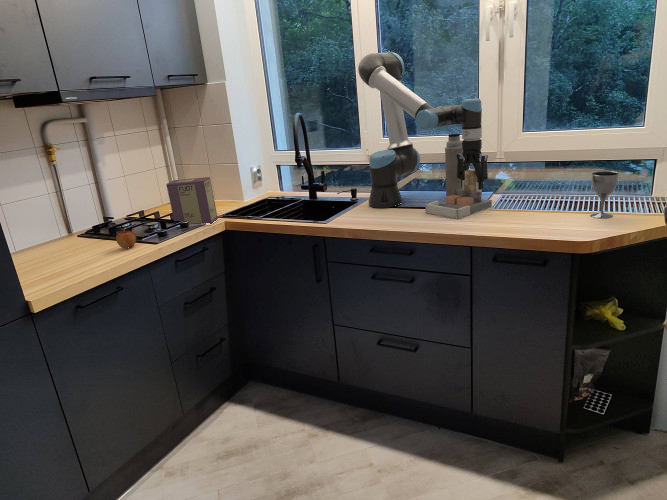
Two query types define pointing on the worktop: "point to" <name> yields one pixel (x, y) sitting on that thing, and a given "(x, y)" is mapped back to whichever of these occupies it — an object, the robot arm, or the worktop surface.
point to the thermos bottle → (452, 163)
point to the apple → (126, 239)
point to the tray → (446, 210)
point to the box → (192, 200)
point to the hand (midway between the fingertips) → (472, 196)
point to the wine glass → (604, 189)
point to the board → (473, 208)
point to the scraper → (470, 187)
